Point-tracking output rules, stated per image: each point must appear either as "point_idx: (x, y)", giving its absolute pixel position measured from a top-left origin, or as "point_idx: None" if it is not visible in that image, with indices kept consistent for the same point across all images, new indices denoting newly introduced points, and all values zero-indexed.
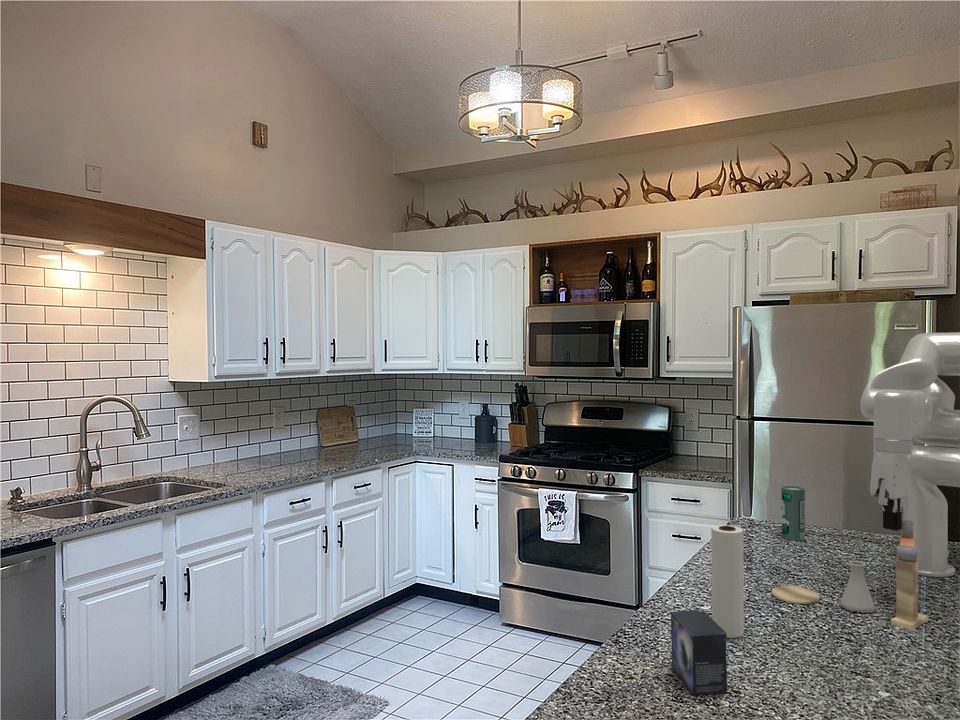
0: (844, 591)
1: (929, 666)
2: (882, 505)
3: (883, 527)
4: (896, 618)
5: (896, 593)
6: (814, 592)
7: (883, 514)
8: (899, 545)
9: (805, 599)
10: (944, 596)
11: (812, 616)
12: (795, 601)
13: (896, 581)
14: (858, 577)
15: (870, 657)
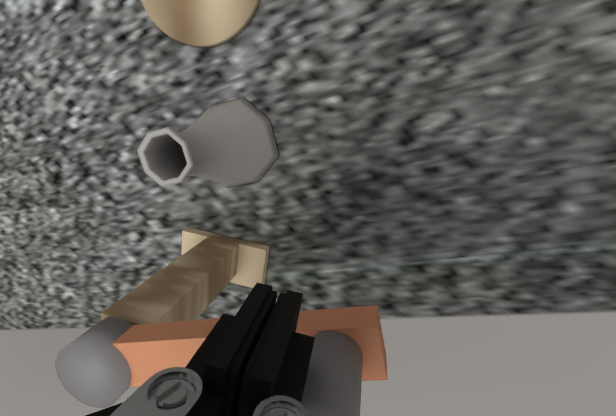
0: (224, 109)
1: (64, 302)
2: (118, 411)
3: (256, 284)
4: (196, 239)
5: (176, 259)
6: (240, 15)
7: (223, 339)
8: (93, 352)
9: (167, 20)
10: (475, 301)
11: (107, 75)
12: (143, 1)
13: (154, 275)
14: (174, 161)
15: (23, 226)
